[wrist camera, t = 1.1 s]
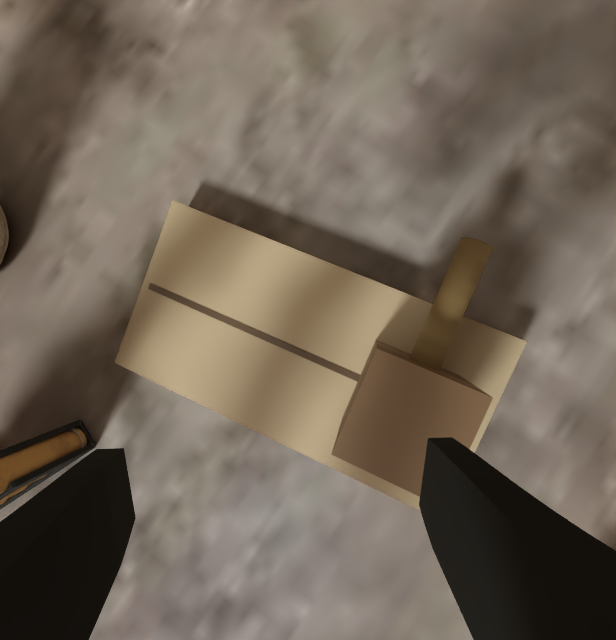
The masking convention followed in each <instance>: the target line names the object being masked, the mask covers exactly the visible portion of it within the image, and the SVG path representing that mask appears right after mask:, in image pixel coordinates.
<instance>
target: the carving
mask: <svg viewBox="0 0 616 640" xmlns="http://www.w3.org/2000/svg"><path fill="white" fill-rule="evenodd" d="M8 241H9V231H8V225H7V220H6V217H5V214H4V212H3V209H2V207H1V205H0V265H1V263H2V260H3V258H4V255H5V252H6V249H7V246H8Z"/></svg>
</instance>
